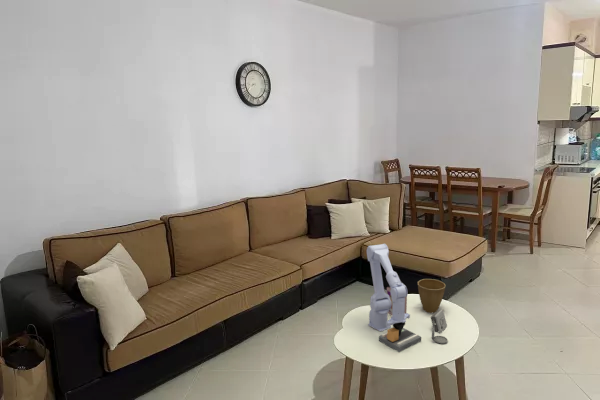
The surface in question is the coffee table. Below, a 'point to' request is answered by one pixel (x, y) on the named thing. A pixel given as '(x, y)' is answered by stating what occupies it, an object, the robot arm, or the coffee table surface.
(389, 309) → the greeting card
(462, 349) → the coffee table surface
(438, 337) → the pocket watch
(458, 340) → the coffee table surface
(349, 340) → the coffee table surface
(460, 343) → the coffee table surface
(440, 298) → the plant pot
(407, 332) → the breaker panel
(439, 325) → the electrical switch
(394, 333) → the block
